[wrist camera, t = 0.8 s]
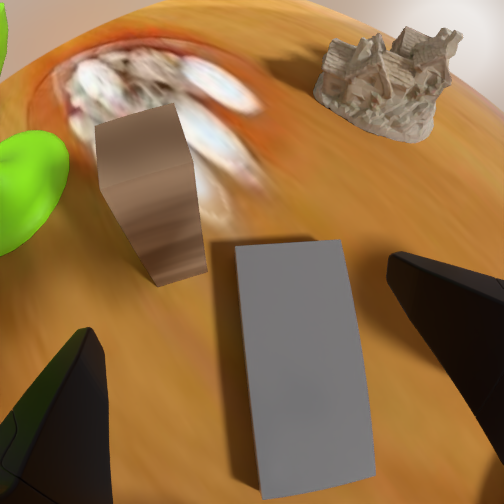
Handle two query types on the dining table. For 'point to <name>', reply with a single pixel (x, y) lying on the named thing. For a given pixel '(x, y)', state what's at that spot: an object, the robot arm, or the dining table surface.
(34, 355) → the dining table surface
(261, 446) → the slate board
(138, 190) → the walnut block
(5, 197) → the wineglass
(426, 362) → the dining table surface
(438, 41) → the ceramic cottage
